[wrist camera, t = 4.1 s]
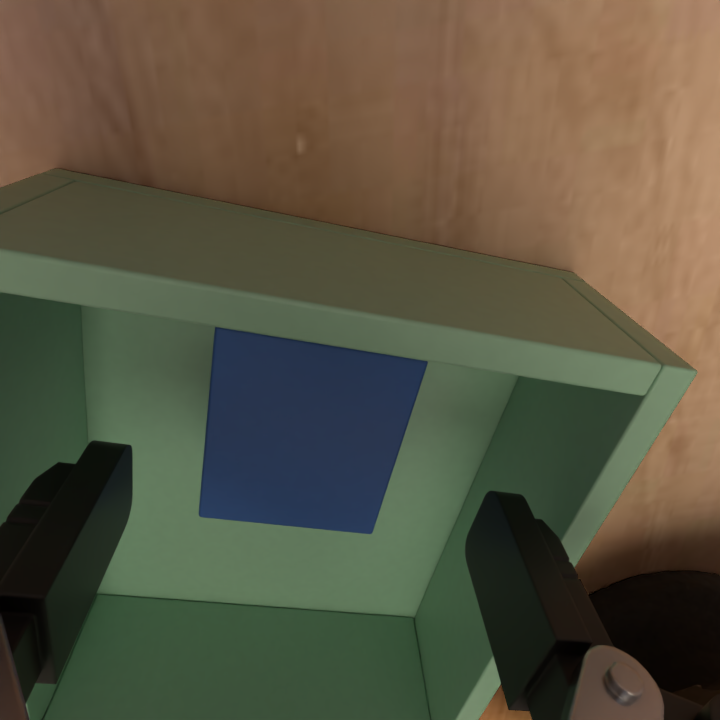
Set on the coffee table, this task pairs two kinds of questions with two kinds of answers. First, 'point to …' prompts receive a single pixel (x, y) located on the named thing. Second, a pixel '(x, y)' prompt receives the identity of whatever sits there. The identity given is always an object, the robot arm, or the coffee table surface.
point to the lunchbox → (287, 543)
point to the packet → (303, 431)
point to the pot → (668, 628)
